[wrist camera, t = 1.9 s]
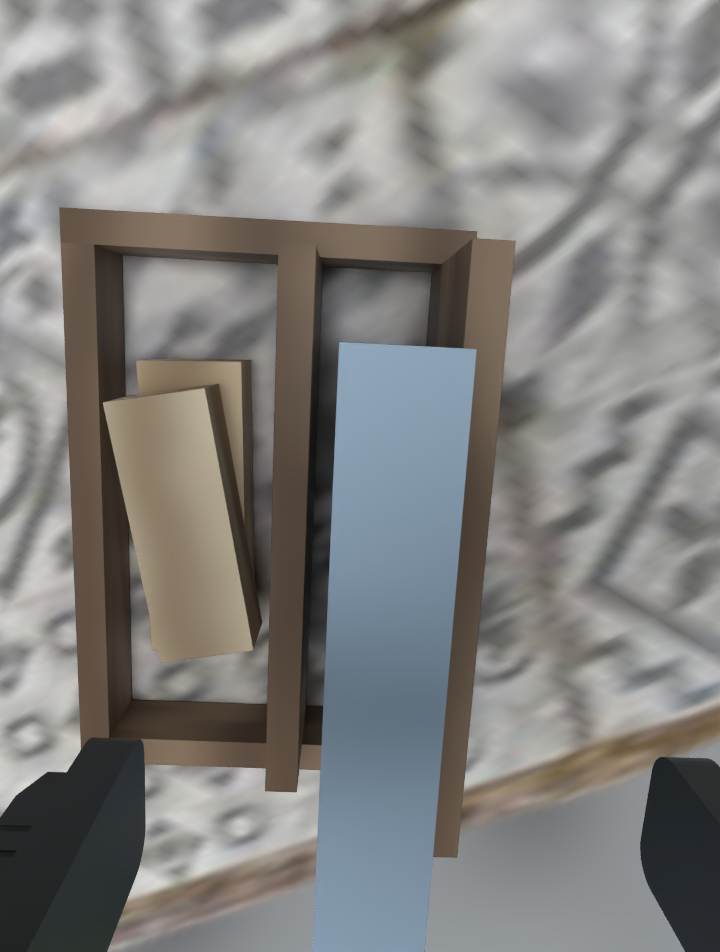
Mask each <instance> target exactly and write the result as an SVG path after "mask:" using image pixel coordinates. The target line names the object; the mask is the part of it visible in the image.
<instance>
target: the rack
mask: <svg viewBox="0 0 720 952" xmlns="http://www.w3.org/2000/svg"><path fill="white" fill-rule="evenodd" d="M59 210H60V235H61V260H62V285H63V310H64V335H65V360H66V384H67V409H68V434H69V459H70V484H71V509H72V534H73V559H74V583H75V608H76V633H77V658H78V683H79V708H80V733H81V749H82V748H83V746H84V745H85V743H86V742H87V741H88V740H89V739H90V738H92V737H96V738H128V739H141V740H142V742H143V745H144V762H145V764H155V765H185V766H215V767H245V768H266V779H265V791H274V792H297V784H298V775H299V769H305V770H321V747H322V724H323V707H318V706H306V703H307V676H308V650H309V624H310V597H311V571H312V544H313V518H314V492H315V465H316V439H317V413H318V386H319V360H320V333H321V307H322V281H323V267H341V268H359V269H377V270H396V271H414V272H432V275H431V289H430V303H429V317H428V332H427V346H429V347H446V348H464V349H477V351H476V362H475V374H474V386H473V397H472V409H471V420H470V432H469V444H468V455H467V467H466V479H465V490H464V502H463V513H462V525H461V537H460V548H459V560H458V572H457V583H456V595H455V606H454V618H453V630H452V641H451V653H450V665H449V676H448V688H447V699H446V711H445V723H444V734H443V746H442V758H441V769H440V781H439V793H438V804H437V816H436V827H435V839H434V851H433V857H454V858H455V857H457V854H458V843H459V832H460V822H461V811H462V801H463V790H464V780H465V769H466V759H467V748H468V737H469V727H470V716H471V706H472V695H473V685H474V674H475V664H476V653H477V642H478V632H479V621H480V611H481V600H482V590H483V579H484V569H485V558H486V547H487V537H488V526H489V516H490V505H491V495H492V484H493V474H494V463H495V452H496V442H497V431H498V421H499V410H500V400H501V389H502V378H503V368H504V357H505V347H506V336H507V326H508V315H509V305H510V294H511V283H512V273H513V262H514V252H515V241H509V240H492V239H477V231H460V230H442V229H425V228H407V227H390V226H373V225H355V224H338V223H320V222H303V221H286V220H268V219H251V218H233V217H216V216H198V215H181V214H164V213H146V212H129V211H111V210H94V209H77V208H59ZM122 255H125V256H143V257H161V258H179V259H197V260H215V261H233V262H251V263H269V264H278V289H277V330H276V371H275V411H274V452H273V493H272V534H271V575H270V616H269V657H268V698H267V705H263V704H235V703H208V702H180V701H152V700H132V669H131V623H130V578H129V533H128V515H127V511H126V506H125V501H124V497H123V492H122V488H121V483H120V479H119V474H118V470H117V465H116V461H115V456H114V451H113V447H112V442H111V438H110V433H109V429H108V424H107V420H106V415H105V411H104V406H103V402H107V401H111V400H115V399H118V398H122V397H126V396H125V351H124V305H123V260H122Z"/></svg>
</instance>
